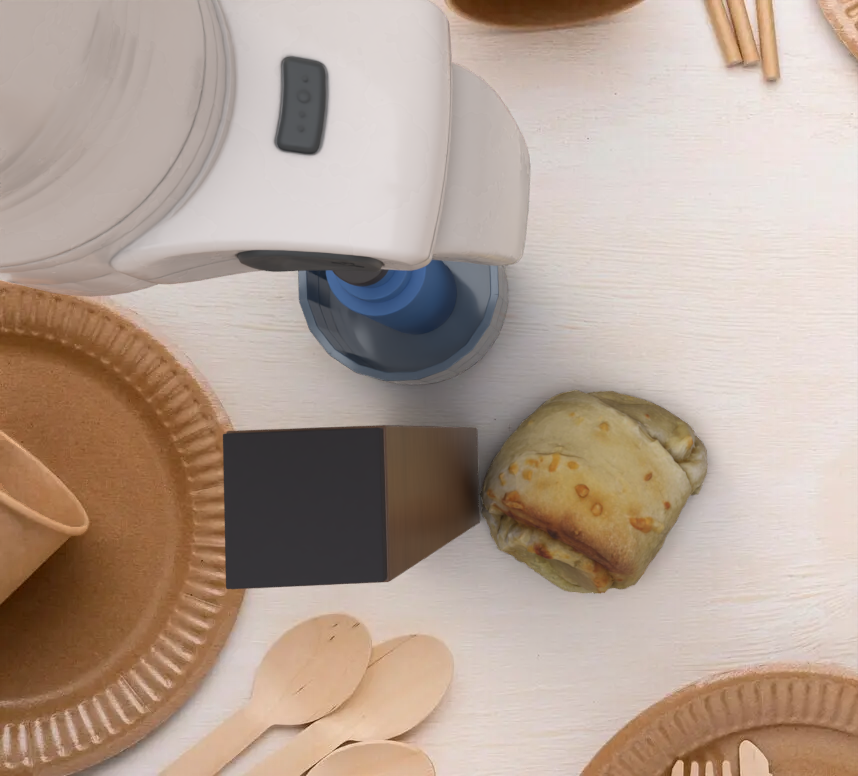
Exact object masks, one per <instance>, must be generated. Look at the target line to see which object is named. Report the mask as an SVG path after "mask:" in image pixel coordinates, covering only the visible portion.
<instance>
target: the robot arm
mask: <svg viewBox="0 0 858 776" xmlns="http://www.w3.org/2000/svg"><path fill="white" fill-rule="evenodd" d="M451 37H452V36H451V27H450V22H449V18H448V17H447V15H446V13H445V12H444V11H443V9H442V8H440V6H438V4H436V3H435V2H433V1H431V0H0V281H1V282H6V283H10V284H14V285H18V286H21V287H26V288H31V289H34V290H39V291H43V292H47V293H50V294H57V295H65V296H73V297H109V296H117V295H122V294H129V293H133V292H138V291H141V290H145V289H149V288H152V287H154V286H157V285H176V284H177V285H178V284H187V283H195V282H201V281H206V280H211V279H217V278H223V277H227V276H228V277H229V276H233V275H239V274H241V275H242V274H247V273H253V272H254V273H255V272H262V271H263V272H273V273H274V272H275V273H281V272H298V271H308V270H337V271H367V272H376V271H380V269H387V270H406V271H412V270H417V269H420V268H423V267H425V266H426V265H428V264H429V263H430V262H431V260H442V261H455V262H467V263H475V264H482V265H491V266H511V265H515V264H517V263H518V262H519V261H520V260H521V259H522V257H523V256H524V252H525V246H526V239H527V230H528V220H529V211H530V210H529V209H530V208H529V207H530V191H531V158H530V152H529V147H528V145H527V141H526V139H525V138H524V135H523V133H522V130H521V129H520V127H519V124H518V123H517V121H516V119H515V118H514V116H513V114H512V113H511V111H510V110H509V108H508V106H507V104H506V103H505V102H504V100H503V99H502V98H501V96H500V94H499V93H497V91H496V90H495V89H494V88H493V87H492V86H491V85H490V84H489V83H488V82H487V81H486V80H485V79H483V78H482V77H481V76H479V75H478V74H477V73H475V72H473V71H472V70H470V69H468V68H467V67H466V66H465V67H464V66H463V65H461V64H458V62H457V63H456V62H454V61H453V57H452V54H453V53H452V39H451Z"/></svg>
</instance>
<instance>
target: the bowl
mask: <svg viewBox="0 0 858 776" xmlns="http://www.w3.org/2000/svg"><path fill="white" fill-rule="evenodd" d="M441 261H442V260H441ZM442 262H444V264H445V265H446V266H447V267H448V268H449V270H450V271H451V273H452V275H453V277H454V279H455V283H456V289H457V297H456V303H455V306H454V309H453V311H452V313H451V314H450V316H449V317H448V319H447V320H446V321H445V322H444V323H443V324H442V325H440V326H439V327H438V328H436V329H434V330H432V331H430V332H427V333H423V334H406V333H402V332H399V331H397V330H394V329H392V328H390V327H388V326H385V325H383V324H381V323H379V322H376V321H374V320H372V319H370V318H368V317H365V316H363V315H361V314H359V313H356V312H354V311H352V310H350V309H349V308H347V307H346V306H344V305H343V304H342V303H341V302H340V301H339V300H338V299H337V298H336V296H335V295H334V294H333V292H332V290H331V288H330V286H329V284H328V281H327V276H326V270H308V271H297V276H298V277H297V280H298V283H297V284H298V302H299V305H300V308H301V310H302V314H303V316H304V319H305V322H306V324H307V327H308V330H309V332H310V333H311V335H312V336H313V337H314V338H315V339H316V341H317V342H318V343H319V345H320V346H321V347H322V348H323V350H324V351H325V352H326V353H327V354H328V356H330V357H331V358H333V360H335V361H337V362H338V363H340V364H341V365H343V366H345V367H346V368H348V370H350V371H352V372H353V373H356V374H359V375H362V376H366V377H370V378H372V379H377V380H380V381H384V382H388V383H392V384H398V385H402V386H405V385H407V386H408V385H411V386H415V385H416V386H421V385H433V384H436V383H440V382H444V381H447V380H449V379H453V378H455V377H457V376H459V375H461V374H462V373H464V372H466V371H468V370H469V369H470V368H472V367H473V366H474V365H476V364H477V363H478V362H479V361H480V360H481V359H482V358H483V357H484V356H486V354H487V353H488V351H490V349H491V348H492V347H493V345H494V343H495V342H496V340H497V338H499V334H500V333H501V331H502V328H503V325H504V323H505V321H506V316H507V310H508V305H509V285H508V278H507V273H506V270H505V267H504V266H505V265H504V266H491V265H482V264H475V263H467V262H455V261H442Z"/></svg>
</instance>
